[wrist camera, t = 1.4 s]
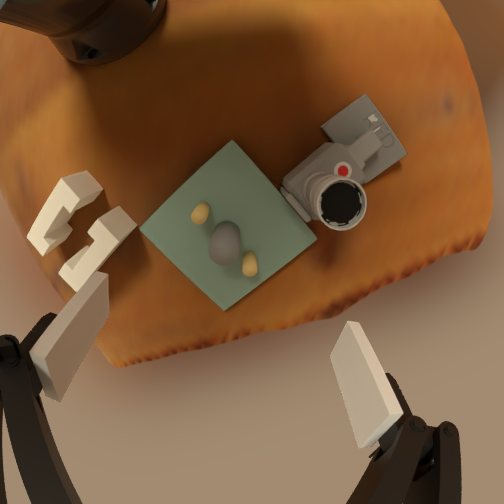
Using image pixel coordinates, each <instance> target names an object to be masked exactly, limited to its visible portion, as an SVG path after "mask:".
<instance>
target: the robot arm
mask: <svg viewBox="0 0 504 504" xmlns="http://www.w3.org/2000/svg"><path fill="white" fill-rule="evenodd" d="M165 4H166V0H0V22H3V23H7V24H10V25H14V26H17V27H21V28H24V29H27V30H31V31H34V32H37V33H40V34H43V35H46V36H48V37H49V39H50V40H51V41H52V43H53V44H54V45H55V47H56V48H57V49H58V51H59V52H60V53H61V54H62V55H63V56H64V57H66V58H67V59H69V60H71V61H74V62H77V63H79V64H83V65H101V64H106V63H109V62H112V61H114V60H117V59H119V58H121V57H123V56H124V55H126V54H128V53H129V52H131V51H132V50H134V49H135V48H136V47H138V46H139V45H140V44H141V43H142V42H143V41H144V40H145V39H146V38H147V37H148V36H149V35H150V34H151V33H152V31H153V30H154V29H155V27H156V26H157V24H158V23H159V21H160V19H161V17H162V15H163V12H164V9H165ZM108 317H109V286H108V274H106V273H102V272H98V271H95V272H94V274H93V275H92V276H91V277H90V278H89V279H88V280H87V281H86V282H85V284H84V285H83V286H82V287H81V288H80V289H79V290H78V292H77V293H76V294H75V295H74V296H73V297H72V299H71V300H70V301H69V302H68V303H67V304H66V306H65V307H64V308H63V309H62V311H61V312H60V313H59V314H58V315H57V314H54V313H51V312H50V313H48V314H47V315H45V316H43V317H42V318H41V319H40V320H39V321H38V322H37V324H36V325H35V326H34V327H33V329H32V331H30V332H29V334H28V335H27V336H26V337H25V338H24V340H23V341H22V342H21V343H20V344H19V341H18V339H17V338H16V337H15V336H12V335H2V336H0V504H7V499H6V492H5V483H4V472H3V458H2V457H3V456H2V419H3V408H4V413H5V418H6V423H7V428H8V432H9V437H10V441H11V445H12V448H13V452H14V455H15V459H16V462H17V465H18V469H19V472H20V475H21V477H22V480H23V483H24V486H25V489H26V491H27V494H28V496H29V499H30V501H31V504H82V502H81V500H80V498H79V496H78V494H77V492H76V490H75V488H74V486H73V484H72V482H71V480H70V478H69V475H68V473H67V471H66V469H65V467H64V464H63V462H62V459H61V457H60V455H59V452H58V450H57V447H56V444H55V442H54V439H53V436H52V433H51V430H50V427H49V424H48V421H47V418H46V415H45V412H44V408H43V405H42V401H41V397H40V396H39V394H40V392H41V390H42V388H43V390H44V392H45V395H46V396H47V397H49V398H51V399H54V400H56V401H58V402H61V400H62V398H63V396H64V394H65V392H66V390H67V388H68V386H69V384H70V383H71V381H72V379H73V377H74V375H75V373H76V372H77V370H78V368H79V366H80V364H81V363H82V361H83V359H84V357H85V356H86V354H87V352H88V350H89V349H90V347H91V345H92V344H93V342H94V340H95V339H96V337H97V335H98V334H99V332H100V330H101V329H102V327H103V325H104V324H105V322H106V320H107V319H108ZM330 360H331V363H332V366H333V369H334V372H335V375H336V378H337V381H338V384H339V387H340V391H341V394H342V397H343V400H344V403H345V406H346V410H347V412H348V416H349V419H350V422H351V426H352V429H353V433H354V436H355V439H356V443H357V446H358V448H365V447H372V446H373V445H374V444H375V443H376V442H377V441H379V444H380V446H379V447H378V448H377V449H376V450H375V451H374V452H373V453H372V454H371V455H370V456H369V458H371V457H372V456H373V455H374V456H373V458H372V460H371V461H370V463H369V465H368V467H367V469H366V471H365V473H364V475H363V476H362V478H361V480H360V481H359V483H358V485H357V487H356V488H355V490H354V492H353V493H352V495H351V497H350V498H349V500H348V501H347V503H346V504H402V503H403V504H461V457H460V456H461V454H460V441H459V433H458V429H457V428H456V426H455V425H454V424H453V423H451V422H448V421H445V422H442V423H441V424H440V425H439V426H438V427H432V426H427V425H426V423H425V422H424V420H423V419H421V418H420V417H417V416H413V415H412V413H411V410H410V408H409V406H408V404H407V402H406V400H405V398H404V396H403V395H402V392H401V390H400V389H399V386H398V384H397V382H396V380H395V379H394V378H393V377H392V376H391V375H390V374H389V373H384V371H383V369H382V367H381V365H380V363H379V361H378V359H377V357H376V355H375V353H374V351H373V349H372V347H371V345H370V343H369V341H368V339H367V337H366V335H365V333H364V331H363V329H362V327H361V325H360V324H359V322H352V321H347V323H346V325H345V327H344V329H343V331H342V333H341V335H340V337H339V339H338V341H337V343H336V345H335V347H334V349H333V351H332V353H331V354H330ZM433 460H434V462H433Z"/></svg>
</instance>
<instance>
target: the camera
mask: <svg viewBox="0 0 504 504" xmlns="http://www.w3.org/2000/svg"><path fill="white" fill-rule="evenodd" d="M320 127H321V128H322V129H323V130H324V132H325V133H326V134H327V135H328V137H329V138H330V139H331V140H332V141H333V143H330V142H325V143H324V144H322V145H321V146H320V147H319V148H318V149H316V150H315V151H314V152H313V153H312V154H310V155H309V156H308V157H307V158H306V159H304V160H303V161H302V162H301V163H300V164H299V165H297V166H296V167H295V168H294V169H293V170H292V171H290V172H289V173H288V174H287V175H286V176H285V177H283V184H282V185H283V186H284V187H281V188H280V192H281V193H282V194H283V196H284V197H285V198H286V200H287V201H288V202H289V203H290V204H291V205H292V207H293V208H294V209H295V210H296V211H297V212H298V213H299V215H300V216H301V217H302V218H303V219H304V220H305V222H310V221H311V218H312V219H313V220H321V221H322V222H323V223H324V224H325V225H326V226H328V227H329V228H331V229H334V230H340V231H341V230H347V229H351V228H352V227H354V226H356V225H357V224H358V223H359V222H360V221H361V220H362V218H363V217H364V214H365V212H366V208H367V198H366V194H365V192H364V190H363V188H362V187H361V185H362V184H363V183H364V184H366V183H367V182H369V181H370V180H372V179H373V178H375V177H376V176H377V175H379V174H380V173H382V172H383V171H384V170H386V169H387V168H389V167H390V166H392V165H393V164H394V163H396V162H397V161H399V160H400V159H402V158H403V157H404V156H406V155H407V152H406V151H405V149H404V147H403V146H402V144H401V143H400V141H399V140H398V138H397V137H396V135H395V134H394V132H393V131H392V129H391V128H390V126H389V125H388V123H387V122H386V120H385V119H384V118H383V116H382V115H381V113H380V112H379V111H378V109H377V108H376V106H375V105H374V104H373V102H372V101H371V100H370V98H369V97H368V96H367V95H366V93H365V94H364V95H362V96H361V97H359V98H358V99H357V100H355V101H354V102H353V103H351V104H350V105H348V106H347V107H346V108H344V109H343V110H342V111H340V112H339V113H337V114H336V115H335V116H333V117H332V118H331V119H329V120H328V121H327V122H325V123H324V124H323V125H321V126H320Z"/></svg>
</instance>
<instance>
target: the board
mask: <svg viewBox="0 0 504 504" xmlns="http://www.w3.org/2000/svg"><path fill="white" fill-rule="evenodd" d="M139 230H140V231H141V232H142V233H143V234H144V235H145V236H146V237H147V238H148V239H149V240H150V241H151V242H152V243H153V244H154V245H155V246H156V247H157V248H158V249H159V250H160V251H161V252H162V253H163V254H164V255H165V256H166V257H167V258H168V259H169V260H170V261H171V262H172V263H173V264H174V265H175V266H176V267H177V268H178V269H179V270H181V271H182V272H183V273H184V274H185V275H186V276H187V277H188V278H189V279H190V280H191V281H192V282H193V283H194V284H195V285H196V286H197V287H198V288H199V289H200V290H202V291H203V292H204V293H205V294H206V295H207V296H208V297H209V298H210V299H211V300H212V301H213V302H215V303H216V304H217V305H218V306H219V307H220V308H221V309H222V310H223V311H225V310H227V309H228V308H229V307H231V306H232V305H233V304H235V303H236V302H237V301H239V300H240V299H241V298H242V297H244V296H245V295H246V294H248V293H249V292H250V291H252V290H253V289H254V288H256V287H257V286H258V285H260V284H261V283H262V282H263V281H265V280H266V279H267V278H269V277H270V276H271V275H273V274H274V273H275V272H276V271H278V270H279V269H280V268H282V267H283V266H284V265H285V264H287V263H288V262H289V261H291V260H292V259H293V258H294V257H296V256H297V255H298V254H300V253H301V252H302V251H303V250H305V249H306V248H307V247H308V246H310V245H311V244H312V243H313V242H315V241H316V240H317V237H316V236H315V234H314V233H313V232H312V231H311V229H310V228H309V227H308V226H307V224H306V223H305V222H304V221H303V220H302V218H301V217H300V216H299V215H298V213H297V212H296V211H295V210H294V209H293V207H292V206H291V205H290V204H289V203H288V202H287V200H286V199H285V198H284V197H283V196H282V194H281V193H280V192H279V191H278V190H277V189H276V187H275V186H274V185H273V184H272V183H271V182H270V180H269V179H268V178H267V177H266V176H265V175H264V174H263V172H262V171H261V170H260V169H259V168H258V167H257V166H256V165H255V163H254V162H253V161H252V160H251V159H250V158H249V157H248V156H247V154H246V153H245V152H244V151H243V150H242V149H241V148H240V147H239V146H238V145H237V143H236V142H235V141H234V140H233V139H232V140H231V141H230V142H229V143H227V144H226V145H225V146H224V147H223V148H222V149H221V150H219V151H218V152H217V153H216V154H215V155H214V156H213V157H212V158H210V159H209V160H208V161H207V162H206V163H205V164H204V165H203V166H202V167H201V168H200V169H198V170H197V171H196V172H195V173H194V174H193V175H192V176H191V177H190V178H189V179H188V180H187V181H186V182H185V183H184V184H183V185H182V186H181V187H180V188H178V189H177V190H176V191H175V192H174V193H173V194H172V195H171V196H170V197H169V198H168V199H167V200H166V201H165V202H164V203H163V204H162V205H161V206H160V207H159V208H158V209H157V210H156V212H155V213H154V214H153V215H152V216H151V217H150V218H149V219H148V220H147V221H146V222H145V223H144V224H143V225H142V226H141V227H140V228H139Z"/></svg>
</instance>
